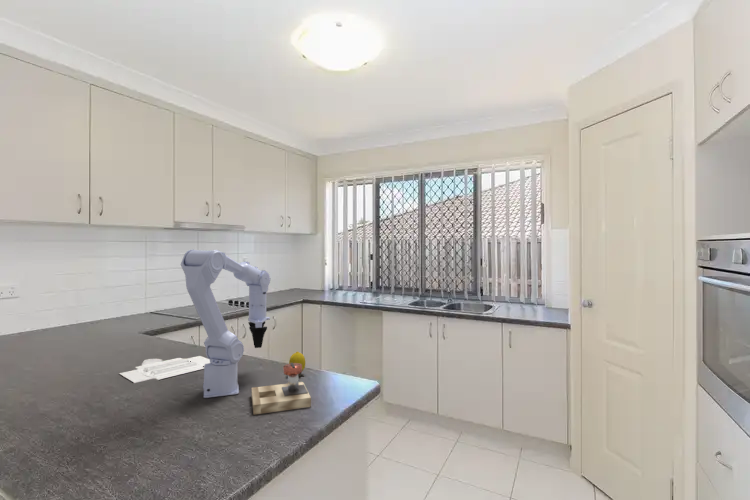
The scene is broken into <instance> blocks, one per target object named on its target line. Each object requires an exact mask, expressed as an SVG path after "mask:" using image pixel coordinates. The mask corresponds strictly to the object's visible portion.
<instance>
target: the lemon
mask: <svg viewBox="0 0 750 500" xmlns="http://www.w3.org/2000/svg"><path fill="white" fill-rule="evenodd" d="M290 363H300V364H302V372H303V371H304V370H305V367H306V358H305V355H304V354H303V353H302V352H299V351H296V352H294V353H292V355H291V356H290V357H289V362H288V364H290Z"/></svg>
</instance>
